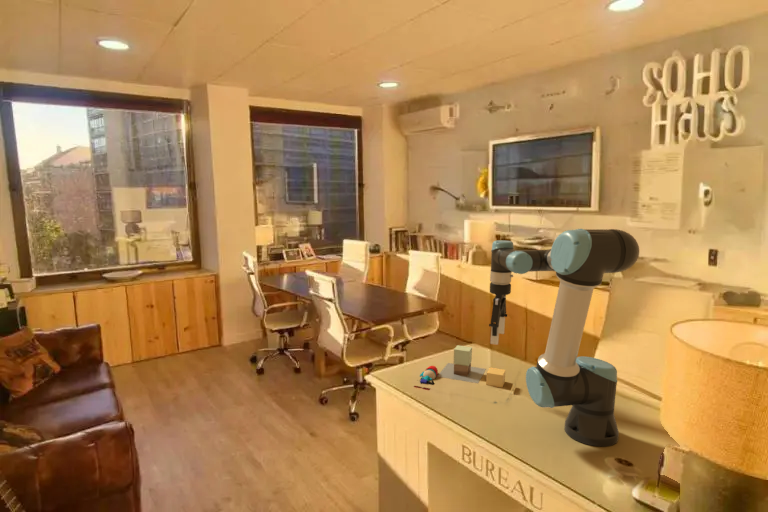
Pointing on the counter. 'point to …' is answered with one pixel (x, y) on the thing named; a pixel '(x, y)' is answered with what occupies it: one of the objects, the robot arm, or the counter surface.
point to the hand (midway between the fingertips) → (497, 338)
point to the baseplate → (472, 376)
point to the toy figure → (428, 376)
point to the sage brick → (462, 355)
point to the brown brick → (462, 369)
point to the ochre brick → (495, 377)
